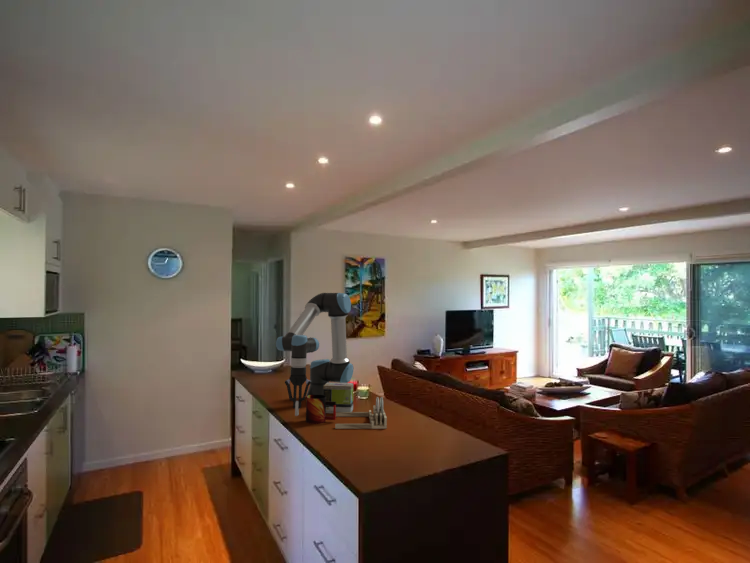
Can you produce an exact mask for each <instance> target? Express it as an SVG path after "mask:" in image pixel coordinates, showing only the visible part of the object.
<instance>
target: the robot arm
mask: <svg viewBox="0 0 750 563" xmlns="http://www.w3.org/2000/svg"><path fill="white" fill-rule="evenodd" d="M351 310H352V302H351V298H350V295H348V294H347V293H343V292H321V293H318V294H316V295H314V296H313V297H312V298H311V299H309V301H308V302H307V303H306V304H305V305H304V310H303V311H302V312H301V314H299V317H297V319H296V320H295V321H294V324H293V325H292V326H291V327H290V329H289V330H288V332H287V333H286V334H285V335H284V336H283V335H282V336H278V337H277V339H276V340H275V346H276V349H277V350H278V351H281V352H290V353H291V355H290V366H291V367H290V376H289V378H288V379H286V380H284V384H285V386H286V388H287V394H288V399H289V401H291V402H292V403H293V404H292V408H293V409H294V416H295V417H298V416H299V412H300V411H299V410H300V409H301V408H302V402H305V401H306V398H307V396H308V395H323V386H324V385H325V384H326V383H350V381H351V379H352V378H353V374H354V365H353V364H352V363H351V362H350V359H349V358H348V354H347V329H346V328H347V327H346V324H347V323H346V318H347V317H348V315H349V314H348V313H350V312H351ZM321 313H327V317H329V319H330V330H331V331H330V332H331V350H332V351H331V352H332V353H331V354H332V358H331V359H329V358H324V359H315V360H312V361H311V362H310V367H309V370H310V371H309V379H308V378H307V367H306V366H307V354H308V353H309V354H310V353H314V352H316V351H317V350H319V348H320V341H319V340H318V338H316V337H308V336H307V335H306V334H305V332H306V331H307V330H308V328H309V327H310V326H311V324H312V322H313V321H314V319H316V317H318V316H319V315H320V314H321ZM304 383H305V384H306V385H305V388H304V391H303V385H304ZM290 384H292V385H293V391H292V389H291V385H290ZM297 387H298V388H297ZM297 389H298V400H297ZM292 392H293V394H292ZM302 393H303V394H302Z"/></svg>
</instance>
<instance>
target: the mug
mask: <svg viewBox="0 0 750 563" xmlns="http://www.w3.org/2000/svg"><path fill="white" fill-rule="evenodd" d="M305 401H306V402H305V404H306V406H305V423H306V424H310V425H320V424H321V425H322V424H324V423H326V420H327V421H336V420H337V419H336V418H337V417H336V402H334V401H326V396H325V395H308V396H307V395H306V397H305ZM326 405H334V410H333V413H332V414H333V415H331V416H330V415H327V413H326Z"/></svg>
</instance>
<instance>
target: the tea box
mask: <svg viewBox="0 0 750 563" xmlns="http://www.w3.org/2000/svg"><path fill="white" fill-rule="evenodd" d="M323 395H325V396H326V401H334V402H336V412H354V411H353V410H354V382H353V383H352V382H348V383H339V382H329V383H326V384H325V385H324V386H323ZM333 410H334V405H326V414H333Z"/></svg>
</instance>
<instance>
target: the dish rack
mask: <svg viewBox="0 0 750 563" xmlns="http://www.w3.org/2000/svg"><path fill="white" fill-rule="evenodd" d="M372 406H373V408H372V409H373V411H372V410H371V409H369V410H368V411H352V412H336V418H337V417H338V418H341V417H343V418H345V417H352V418H353V417H355V418H356V417H358V418H359V417H360V418H362V417H364V418H365V417H367V418H368V419H369V423H335V425H334V426H335V428H334V429H335V430H336V429H337V430H340V429H341V430H342V429H343V430H345V429H347V430H348V429H350V430H351V429H352V430H353V429H355V430H356V429H357V430H361V429H363V430H364V429H365V430H367V429H370V430H373V429H376V430H377V429H380V430H382V429H384V430H385V429H387V428H388V426H387V422H388V417H387V415H386V412H385V410H384V398H383V396H380V398H379V397H378V396H376V398H375V405H372Z"/></svg>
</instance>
